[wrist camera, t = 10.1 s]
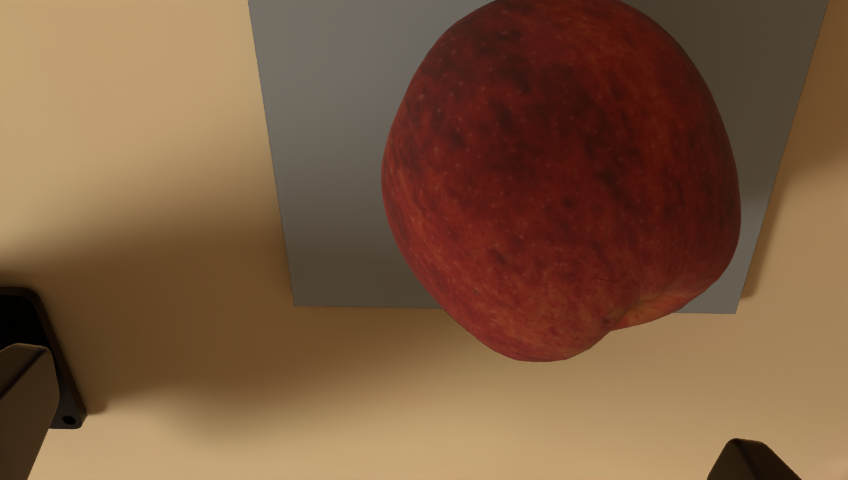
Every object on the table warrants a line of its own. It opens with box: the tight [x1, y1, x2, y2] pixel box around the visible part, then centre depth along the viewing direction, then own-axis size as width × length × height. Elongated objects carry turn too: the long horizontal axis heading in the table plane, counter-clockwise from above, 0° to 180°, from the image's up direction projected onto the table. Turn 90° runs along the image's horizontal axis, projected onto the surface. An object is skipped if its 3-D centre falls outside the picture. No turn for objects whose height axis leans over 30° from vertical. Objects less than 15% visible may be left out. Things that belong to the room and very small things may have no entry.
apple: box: [381, 0, 741, 362], centre depth 15 cm, size 7×8×8 cm
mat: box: [248, 0, 829, 314], centre depth 19 cm, size 14×14×1 cm
